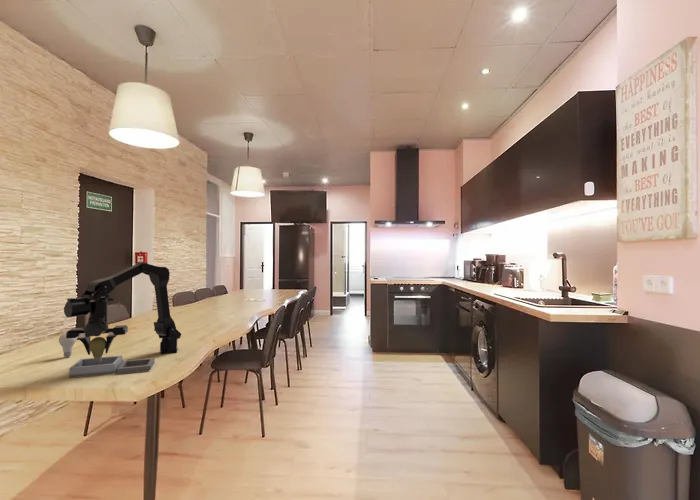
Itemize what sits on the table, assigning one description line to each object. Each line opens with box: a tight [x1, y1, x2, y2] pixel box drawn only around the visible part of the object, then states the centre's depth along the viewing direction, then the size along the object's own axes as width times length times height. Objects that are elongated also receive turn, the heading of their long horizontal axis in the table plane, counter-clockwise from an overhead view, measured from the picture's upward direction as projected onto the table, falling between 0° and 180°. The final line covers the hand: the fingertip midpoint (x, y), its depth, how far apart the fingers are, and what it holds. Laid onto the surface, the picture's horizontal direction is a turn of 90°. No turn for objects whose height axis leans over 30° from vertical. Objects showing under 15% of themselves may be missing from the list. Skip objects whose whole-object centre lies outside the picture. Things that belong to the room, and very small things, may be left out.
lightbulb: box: [58, 331, 78, 358], centre depth 152 cm, size 6×6×11 cm
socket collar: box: [116, 357, 156, 375], centre depth 139 cm, size 11×11×2 cm
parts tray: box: [68, 355, 123, 379], centre depth 135 cm, size 14×12×4 cm
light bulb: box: [89, 336, 107, 363], centre depth 136 cm, size 6×6×10 cm
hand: (97, 353), depth 136 cm, fingers closed on light bulb, 5 cm apart
